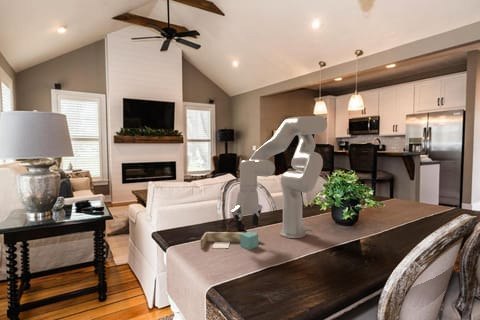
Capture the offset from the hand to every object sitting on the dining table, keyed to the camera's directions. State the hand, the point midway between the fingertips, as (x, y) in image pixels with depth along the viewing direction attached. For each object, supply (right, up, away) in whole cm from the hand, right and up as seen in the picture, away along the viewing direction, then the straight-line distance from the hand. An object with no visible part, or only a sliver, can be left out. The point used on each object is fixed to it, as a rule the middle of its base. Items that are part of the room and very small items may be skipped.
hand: (247, 227), depth 120 cm
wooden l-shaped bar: (-8, -9, +3) cm, 12 cm away
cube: (+1, -9, +1) cm, 9 cm away
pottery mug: (-5, -8, +23) cm, 24 cm away
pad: (-12, -9, +2) cm, 15 cm away
